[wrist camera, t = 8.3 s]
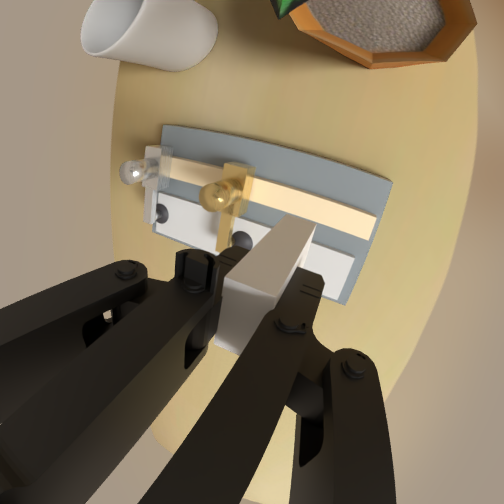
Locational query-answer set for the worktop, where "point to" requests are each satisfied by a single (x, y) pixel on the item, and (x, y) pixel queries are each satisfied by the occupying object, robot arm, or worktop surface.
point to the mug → (150, 32)
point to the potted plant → (384, 28)
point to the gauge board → (274, 201)
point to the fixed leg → (150, 176)
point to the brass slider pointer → (228, 199)
